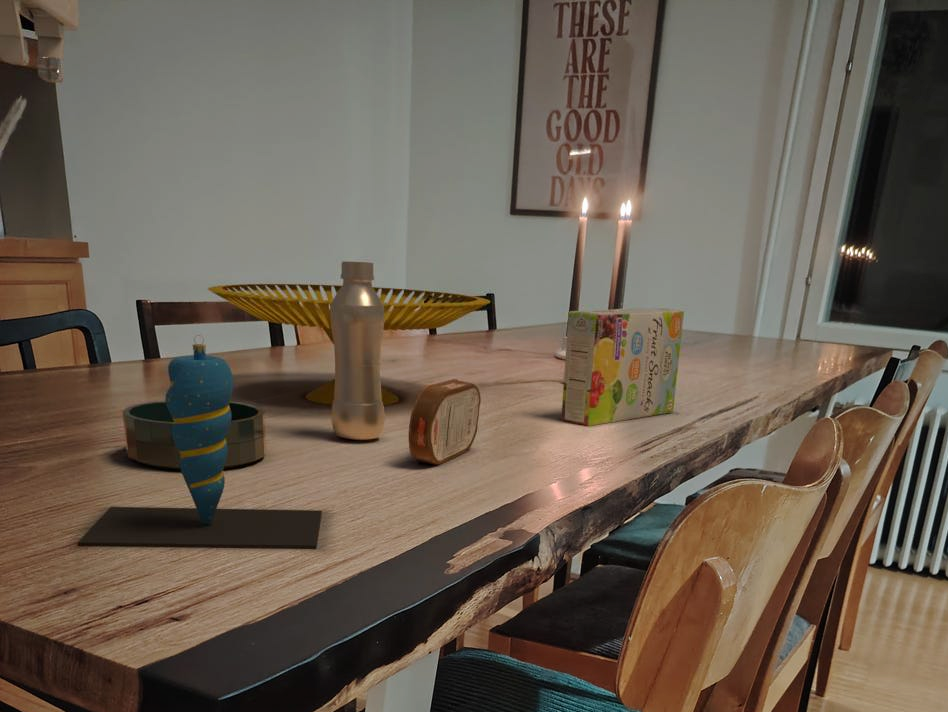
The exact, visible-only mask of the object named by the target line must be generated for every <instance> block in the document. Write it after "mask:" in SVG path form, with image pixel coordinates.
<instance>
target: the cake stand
mask: <svg viewBox="0 0 948 712" xmlns="http://www.w3.org/2000/svg"><path fill="white" fill-rule="evenodd" d="M287 287H288V288H289V289H290V291H291V292H292V293H293V294H294V295H295V296H296V297H294V296H293V295H292V293H290V291H289V289H288V288H287ZM298 287H299V288H298ZM309 287H310V288H311V289H312V291H313V293H314V295H315V296H316V298H317V299H315V298H313V295H312V293H311V291H310V288H309ZM341 287H342V285H339V284H337V285H336V284H306V283H305V284H303V283H298V284H297V283H244V284H243V283H240V284H224V285H223V284H222V285H215V286H210V287H207V290H208V291H209V292H211V293H212V294H215V295H216V296H218V297H220V298H222V299H224V300H225V301H227V302H229V303H230V304H232V305H234V306H236V307H237V308H239V309H241V310H243V311H244V312H246V313H248V314H250V315H252V316H253V317H255V318H257V319H259V320H261V321H264V322H268V323H273V324H280V325H286V326H287V325H289V326H291V325H292V326H300V327H309V328H316V327H317V328H319V329H321V328H322V329H323V331H324V332H325V334H326V335H327V337H328V338H329V340H330V341H331V343H332V345H334V341H333V334H332V327H331V319H330V307H331V303H332V301H333V299H334V296H333V291H332V290H333V289H332V288H334V291H335V295H336V294H337V292H338V291H339V290H340V288H341ZM372 287H373V289H374V290H375V292H376V293H377V294H378V292H379V291H381V292H380V296H379V298H380V300H381V302H382V304H383V307H384V311H385V321H384V328H383V331H389V330H391V331H398V330H400V331H406V330H407V331H413V330H415V331H416V330H417V331H419V330H432V329H439V328H442V327H445V326H447V325H449V324H451V323H453V322H455V321H457V320H459V319H461V318H463V317H465V316H467V315H469V314H471V313H473V312H474V311H477V310H479V309H481V308H482V307H484V306H487V305H489V304H490V303H491V300H489V299H487V298H484V297H479V296H473V295H466V294H460V293H451V292H443V291H432V290H420V289H407V288H396V287H395V288H392V287H391V288H390V287H380V286H379V287H377V286H372ZM278 288H279V290H280V291H282V293H284V294H285V295H286V296H284V295H282V293H281V292H280V291H279V290H278ZM321 288H322V289H323V291H324V293H325V296H326V299H324V296H323V295H322V292H321ZM259 289H260V290H259ZM299 289H301V291H302V292H303V293H304V295H305V296H306V298H304V296H303V295H302V294H301V292H300V291H299ZM261 290H262V291H261ZM270 290H271V291H272V292H273V293H274V294H275V295H276V296H275V295H274V294H273V293H272V292H271V291H270ZM391 290H392V293H391V295H390V298H389V300H388V302H385V300H386V298H387V296H388V295H389V293H390V292H391ZM263 292H264V293H265V294H266V295H265V294H264V293H263ZM400 293H402V295H401V297H400V299H399V300H398V302H396V299H397V297H398V296H399V295H400ZM412 293H413V294H412ZM411 294H412V296H411V297H410V299H409V300H408V301H407V302H405V301H406V300H407V299H408V298H409V296H410V295H411ZM422 294H423V296H422V297H421V298H420V296H421V295H422ZM430 296H432V297H431V298H430V299H429V300H427V299H428V298H429V297H430ZM441 296H442V297H441ZM439 297H440V298H439ZM418 298H420V299H419V300H418V301H417V302H416V300H417V299H418ZM438 298H439V300H438V301H436V300H437V299H438ZM454 300H455V301H454ZM425 301H427V302H425ZM435 301H436V302H435ZM444 301H445V302H444ZM391 308H392V309H391ZM335 361H336V358H335V357H334V362H335ZM335 373H336V368H335V367H334V374H335ZM334 389H335V378H334V379H332V380H330V381H328V382H327V383H325V384H323V385H321V386H319V387H317V388H316V389H314V390H312V391H310V392H308V393H306V394H305V399H307V400H308V401H310V402H314V403H318V404H323V405H330V406H332V404H333V399H334V398H335V397H334ZM381 395H382V399H381V400H382V401H383V406H387V405H392V404H393V405H394V404H396V403H398V402H399V401H400V399H399V397H398V396H397V395H395V394H394V393H392V392H390V391H388V390H387V389H385V388H384V387H382V386H381Z"/></svg>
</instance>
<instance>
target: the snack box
mask: <svg viewBox="0 0 948 712" xmlns="http://www.w3.org/2000/svg"><path fill="white" fill-rule="evenodd" d="M684 314H685V311H684V310H683V309H677V308H669V307H650V308H645V307H643V308H616V309H594V310H593V309H592V310H570V311H568V313H567V326H566V327H567V328H566V344H565V358H564V373H563V387H562V389H563V391H562V404H561V418H560V419H561V420H560V421H562V422H565V423H571V424H577V425H582V426H587V427H591V426H592V427H593V426H597V425H603V424H609V423H615V422H622V421H627V420H634V419H640V418H647V417H651V416H659V415H663V414H670V413H674V407H675V397H676V389H677V388H676V387H677V379H678V371H679V361H680V352H681V351H680V350H681V342H682V334H683V332H682V331H683V326H684V325H683V323H684V316H685V315H684Z"/></svg>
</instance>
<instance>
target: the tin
mask: <svg viewBox="0 0 948 712" xmlns="http://www.w3.org/2000/svg"><path fill="white" fill-rule="evenodd" d="M481 400H482V399H481V392H480V389H479V388H478V386H477V385H476V384H475V383H472V382H468V381H463V380H458V379H457V378H452V379H449V380H444V381H440V382H436V383H431V384H428V385H426V386H424V387H423V389H422V390H421V391H420V392H419V394H418V396H417V397H416V399H415V401H414V404H413V407H412V410H411V414H410V419H409V425H408V449H409V452H410V453H409V454H410V455H411V457H412V459H413V460H414V461H415V462H417V463H425V464H430V465H437V466H438V465H442V464H444V463H446V462H448V461H450V460H453V459H454V458H457V457H459V456H462V455H463V454H466V453H467V452H468V451H469V450H470V448H471V447H472V446H473V443H474V442H475V438H476V436H477V432H478V423H479V416H480V407H481Z"/></svg>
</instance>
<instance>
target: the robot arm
mask: <svg viewBox="0 0 948 712" xmlns="http://www.w3.org/2000/svg"><path fill="white" fill-rule="evenodd" d="M20 15H21V16H22V17H24V18H26V19H27V20H29V21H30V22H32V23H33V26H34V28H33V29H34V34H35V36H36V37H37V55H36V56H35V61H36V66H37V75H38V77H39V78H40V79H41V80H43V81H45V82H47V83H53V84H54V83H56V84H61V83H62V82H64V79H65V76H64V66H63V57H64V50H65V42H66V41H65V40H66V39H65V32H64V31H66V32H76V31H78V30H79V27H80V7H79V0H0V59H1V61H4V62H5V63H7V64H9V65H13V66H24V67H25V66H27V65H29V62H30V56H29V47H28V40H27V39H25V38H24V33H23V27H22V23H21V17H20Z"/></svg>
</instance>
